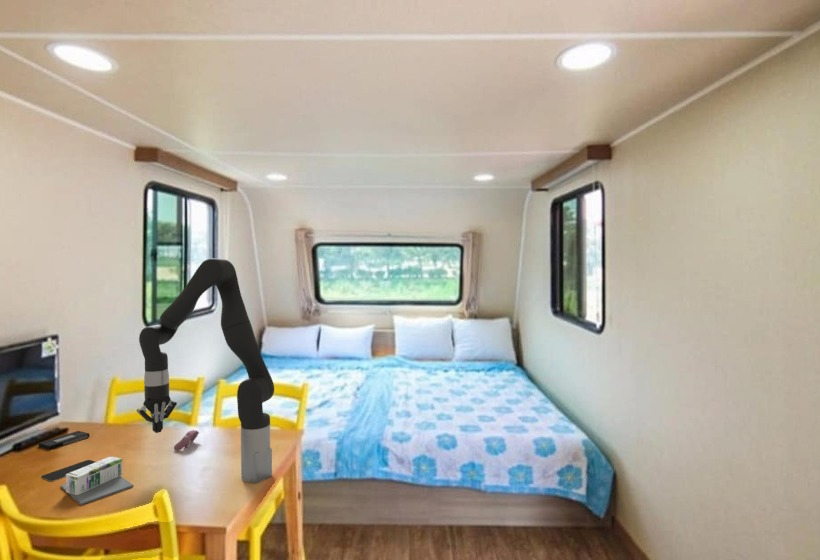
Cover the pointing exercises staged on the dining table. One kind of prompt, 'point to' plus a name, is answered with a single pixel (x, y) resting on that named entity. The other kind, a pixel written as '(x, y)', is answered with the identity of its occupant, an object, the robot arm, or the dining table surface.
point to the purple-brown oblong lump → (186, 440)
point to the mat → (101, 490)
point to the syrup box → (93, 475)
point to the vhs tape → (63, 440)
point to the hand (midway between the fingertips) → (157, 432)
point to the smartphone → (66, 470)
